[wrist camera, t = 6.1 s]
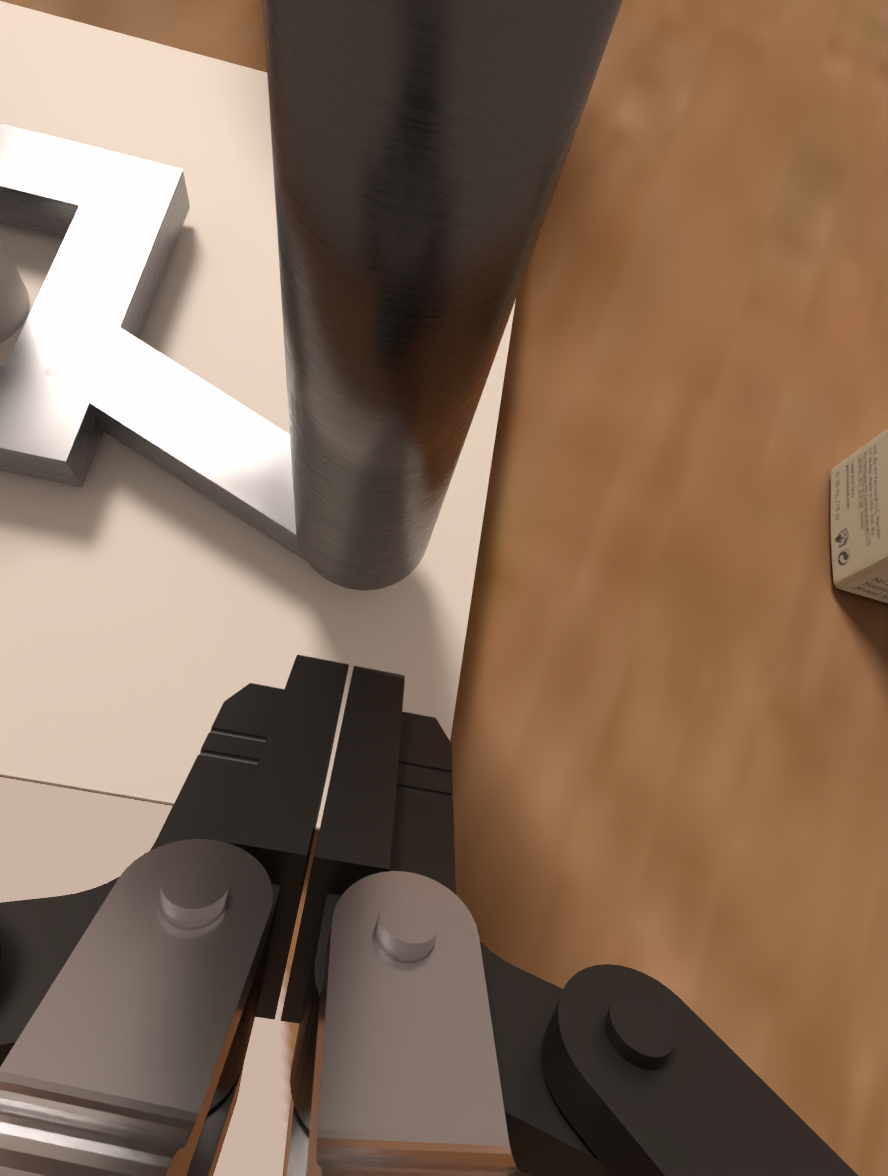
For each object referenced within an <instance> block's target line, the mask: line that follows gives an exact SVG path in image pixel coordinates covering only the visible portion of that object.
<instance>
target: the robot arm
mask: <svg viewBox="0 0 888 1176" xmlns="http://www.w3.org/2000/svg"><path fill="white" fill-rule="evenodd" d="M348 668H349V664H344V663H339V662H334V661H329V660H324V659H318V658H313V657H308V656H303V655H297V656H296V659H295V661H294V664H293V667H292V670H291V672H290V675H289V678H288V681H287V684H286V686H285V689H280V688H275V687H270V686H264V685H259V684H254V683H249V684H248V685H247V686H245V687H244V688H242V689H241V690H240V691H238V692H237V693H235V694H234V695H233V696H231V697H230V698H228V699H227V700H225V701H224V703H223V705H222V707H221V709H220V711H219V713H218V715H217V717H216V719H215V721H214V723H213V725H212V727H211V732H209V733H208V735H207V737H206V739H205V742H204V744H203V746H202V748H201V751H200V755H198V756H197V758H196V760H195V762H194V764H193V766H192V768H191V770H190V772H189V774H188V776H187V778H186V781H185V783H184V785H183V787H182V789H181V791H180V793H179V795H178V797H177V799H176V801H175V803H174V805H173V807H172V809H171V811H170V814H169V815H168V817H167V820H166V822H165V824H164V826H163V828H162V830H161V832H160V834H159V836H158V838H157V840H156V842H155V844H154V845H153V847H152V848H151V850H150V851H149V852H147V853H145V854H144V855H143V856H141V857H140V858H138V859H137V860H135V861H134V862H133V863H132V864H131V865H130V866H129V867H128V868H127V869H126V870H125V871H124V872H123V874H122V875H121V876H120V877H118V878H116V879H114V880H112V881H110V882H109V883H107V884H104V885H102V886H99V887H96V888H94V889H91V890H87V891H84V892H80V893H76V894H70V895H65V896H58V897H49V898H40V899H31V900H22V901H12V902H3V903H0V1176H213V1174H214V1171H215V1168H216V1165H217V1161H218V1158H219V1155H220V1152H221V1148H222V1145H223V1142H224V1139H225V1136H226V1133H227V1129H228V1126H229V1123H230V1120H231V1117H232V1114H233V1110H234V1107H235V1104H236V1101H237V1096H238V1092H239V1087H240V1081H241V1076H242V1070H243V1064H244V1059H245V1055H246V1051H247V1047H248V1043H249V1038H250V1035H251V1030H252V1026H253V1022H254V1018H255V1017H262V1018H269V1019H275V1015H276V1010H277V1005H278V1001H279V996H280V991H281V987H282V982H283V978H284V973H285V968H286V964H287V959H288V954H289V950H290V945H291V940H292V936H293V931H294V927H295V922H296V917H297V913H298V908H299V903H300V899H301V894H302V889H303V885H304V880H305V876H306V871H307V866H308V862H309V857H310V852H311V848H312V843H313V838H314V834H315V829H316V825H317V820H318V815H319V811H320V806H321V801H322V797H323V792H324V787H325V782H326V778H327V773H328V768H329V763H330V758H331V753H332V748H333V743H334V738H335V733H336V728H337V723H338V718H339V713H340V708H341V703H342V698H343V693H344V688H345V683H346V678H347V673H348ZM404 683H405V675H401V674H396V673H390V672H385V671H380V670H375V669H370V668H364V667H359V666H354V667H353V672H352V677H351V681H350V686H349V691H348V696H347V701H346V705H345V710H344V715H343V720H342V725H341V729H340V734H339V739H338V744H337V749H336V754H335V758H334V763H333V768H332V773H331V778H330V782H329V787H328V792H327V797H326V802H325V806H324V811H323V816H322V821H321V826H320V830H319V835H318V840H317V845H316V850H315V854H314V859H313V864H312V869H311V874H310V879H309V884H308V889H307V894H306V899H305V904H304V908H303V913H302V918H301V923H300V928H299V933H298V938H297V943H296V948H295V953H294V958H293V963H292V968H291V973H290V977H289V982H288V987H287V992H286V997H285V1002H284V1007H283V1012H282V1017H281V1021H287V1022H294V1023H300V1024H299V1029H298V1035H297V1040H296V1046H295V1051H294V1057H293V1062H292V1068H291V1078H290V1085H291V1094H292V1098H291V1104H290V1110H289V1119H288V1129H287V1139H286V1148H285V1159H284V1168H283V1176H858V1175H857V1174H856V1173H855V1172H854V1171H853V1170H852V1169H851V1168H850V1167H849V1166H848V1165H847V1164H846V1163H845V1162H844V1161H843V1160H842V1159H841V1158H840V1157H839V1156H838V1155H837V1154H836V1153H835V1152H834V1151H833V1150H832V1149H831V1148H830V1147H829V1146H828V1145H827V1144H826V1143H825V1142H824V1141H823V1140H822V1139H821V1138H820V1137H819V1136H818V1135H817V1134H816V1133H815V1132H814V1131H813V1130H812V1129H811V1128H810V1127H809V1126H808V1125H807V1124H806V1123H805V1122H804V1121H803V1120H802V1119H801V1118H800V1117H799V1116H798V1115H797V1114H796V1113H795V1112H794V1111H793V1110H792V1109H791V1108H790V1107H789V1106H788V1105H787V1104H786V1103H785V1102H784V1101H783V1100H782V1099H781V1098H780V1097H779V1096H778V1095H777V1094H776V1093H775V1092H774V1091H773V1090H772V1089H771V1088H770V1087H769V1086H768V1085H767V1084H766V1083H765V1082H764V1081H763V1080H762V1079H761V1078H760V1077H759V1076H758V1075H756V1074H755V1073H754V1072H753V1071H752V1070H751V1069H750V1068H749V1067H748V1066H747V1065H746V1064H745V1063H744V1062H743V1061H742V1060H741V1059H740V1058H739V1057H738V1056H737V1055H736V1054H735V1053H734V1052H733V1051H732V1050H731V1049H730V1048H729V1047H728V1046H727V1045H726V1044H725V1043H724V1042H723V1041H722V1040H721V1039H720V1038H719V1037H718V1036H717V1035H716V1034H715V1033H714V1032H713V1031H712V1030H711V1029H710V1028H709V1027H708V1026H707V1025H706V1024H705V1023H704V1022H703V1021H702V1020H701V1019H700V1018H699V1017H698V1016H697V1015H696V1014H695V1013H694V1012H693V1011H692V1010H691V1009H690V1008H689V1007H688V1006H687V1005H686V1004H685V1003H684V1002H683V1001H682V1000H681V999H680V998H679V997H678V996H677V995H675V994H674V993H673V992H672V991H671V990H670V989H668V988H667V987H666V986H664V985H663V984H661V983H660V982H659V981H657V980H655V979H653V978H652V977H650V976H648V975H646V974H644V973H642V972H639V971H637V970H634V969H631V968H627V967H624V966H619V965H610V964H607V965H596V966H592V967H588V968H585V969H583V970H581V971H580V972H578V973H576V974H575V975H574V976H573V977H572V978H571V979H570V980H569V981H568V983H567V984H566V985H565V987H564V989H561V988H559V987H557V986H555V985H553V984H551V983H548V982H546V981H544V980H542V979H540V978H538V977H536V976H534V975H531V974H529V973H527V972H525V971H523V970H521V969H519V968H517V967H515V966H513V965H511V964H509V963H507V962H505V961H504V960H502V959H501V958H499V957H498V956H497V955H495V954H494V953H492V952H491V951H490V950H489V949H488V948H487V947H485V946H484V945H483V944H482V943H481V942H480V939H479V934H478V930H477V926H476V923H475V921H474V919H473V916H472V914H471V913H470V911H469V910H468V908H467V907H466V905H465V904H464V903H463V902H462V901H461V900H460V898H459V897H458V896H457V895H456V890H455V856H454V821H453V799H452V794H453V786H452V776H451V773H452V751H451V742H450V741H449V739H448V737H447V736H446V734H445V732H444V731H443V729H442V727H441V726H440V724H439V722H438V721H437V719H436V718H435V717H429V716H424V715H419V714H413V713H408V712H402V709H403V696H404Z"/></svg>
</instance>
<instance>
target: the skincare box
mask: <svg viewBox="0 0 888 1176" xmlns="http://www.w3.org/2000/svg"><path fill="white" fill-rule="evenodd" d="M830 503H831V505H830V514H831V516H830V522H831V553H832V568H833V583H834V585H835V586H836V587H837V588H838V589H841V590H844V591H847V592H851V593H854V594H857V595H861V596H864V597H868V598H871V599H875V600H878V601H882V602H885V603H888V429H886V430H885V431H883V432H882V433H881V434H879V435H878V436H876V437H875V438H873V439H872V440H871V441H870V442H868V443H867V444H865V445H864V446H862V447H861V448H860V449H858V450H857V451H856V452H854V453H853V454H852V455H850V456H849V457H847V458H846V459H845V460H843V461H842V462H841V463H839V464H838V465H836V466H835V467H834V468H833V469H832V470H831V501H830Z"/></svg>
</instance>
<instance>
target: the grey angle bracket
mask: <svg viewBox="0 0 888 1176" xmlns="http://www.w3.org/2000/svg"><path fill="white" fill-rule="evenodd" d="M622 1H623V0H263V12H264V28H265V44H266V60H267V76H268V92H269V108H270V124H271V140H272V156H273V172H274V188H275V204H276V220H277V236H278V252H279V268H280V284H281V300H282V316H283V332H284V348H285V364H286V380H287V396H288V412H289V428H290V434H288V433H287V432H285V431H283V430H282V429H280V428H279V427H277V426H275V425H274V424H272V423H271V422H269V421H268V420H266V419H264V418H263V417H261V416H260V415H258V414H256V413H255V412H253V411H252V410H250V409H249V408H247V407H245V406H244V405H242V404H241V403H239V402H237V401H236V400H234V399H233V398H231V397H230V396H228V395H226V394H225V393H223V392H222V391H220V390H218V389H217V388H215V387H214V386H212V385H210V384H209V383H207V382H206V381H204V380H203V379H201V378H199V377H198V376H196V375H195V374H193V373H191V372H190V371H188V370H187V369H185V368H184V367H182V366H180V365H179V364H177V363H176V362H174V361H172V360H171V359H169V358H168V357H166V356H165V355H163V354H161V353H160V352H158V351H157V350H155V349H153V348H152V347H150V346H149V345H147V344H145V343H144V342H142V341H141V340H139V339H140V336H141V333H142V331H143V328H144V326H145V323H146V320H147V318H148V315H149V313H150V310H151V307H152V305H153V302H154V300H155V297H156V294H157V292H158V289H159V287H160V284H161V281H162V279H163V276H164V274H165V271H166V268H167V266H168V263H169V261H170V258H171V255H172V253H173V250H174V247H175V245H176V242H177V240H178V237H179V234H180V232H181V229H182V227H183V224H184V221H185V219H186V216H187V214H188V211H189V208H190V204H189V199H188V194H187V188H186V183H185V178H184V173H183V169H180V168H176V167H172V166H168V165H164V164H160V163H156V162H152V161H148V160H144V159H140V158H136V157H133V156H129V155H125V154H121V153H117V152H113V151H109V150H105V149H101V148H97V147H93V146H89V145H85V144H81V143H77V142H73V141H69V140H65V139H61V138H57V137H53V136H49V135H46V134H42V133H38V132H34V131H30V130H26V129H22V128H18V127H14V126H10V125H6V124H2V123H0V221H5V222H9V223H13V224H17V225H21V226H25V227H30V228H34V229H38V230H42V231H46V232H50V233H54V234H59V235H63V236H65V238H64V240H63V242H62V244H61V246H60V249H59V251H58V253H57V255H56V257H55V259H54V262H53V264H52V266H51V268H50V270H49V272H48V275H47V277H46V279H45V281H44V283H43V285H42V288H41V290H40V292H39V294H38V296H37V298H36V301H35V303H34V305H33V307H32V309H31V311H30V314H29V316H28V318H27V320H26V322H25V324H24V327H23V329H22V331H21V333H20V335H19V338H18V340H17V342H16V344H15V346H14V348H13V351H12V353H11V355H10V357H9V359H8V361H7V364H6V366H1V365H0V470H1V471H5V472H10V473H15V474H20V475H25V476H29V477H34V478H39V479H44V480H49V481H53V482H58V483H63V484H68V485H73V486H78V487H83V484H84V482H85V479H86V477H87V474H88V471H89V469H90V466H91V464H92V461H93V458H94V456H95V453H96V451H97V448H98V445H99V443H100V440H101V438H102V435H103V432H105V433H107V434H109V435H110V436H112V437H113V438H115V439H116V440H118V441H119V442H121V443H123V444H124V445H126V446H127V447H129V448H130V449H132V450H134V451H135V452H137V453H138V454H140V455H141V456H143V457H144V458H146V459H148V460H149V461H151V462H152V463H154V464H155V465H157V466H158V467H160V468H162V469H163V470H165V471H166V472H168V473H169V474H171V475H173V476H174V477H176V478H177V479H179V480H180V481H182V482H183V483H185V484H187V485H188V486H190V487H191V488H193V489H194V490H196V491H198V492H199V493H201V494H202V495H204V496H205V497H207V498H208V499H210V500H212V501H213V502H215V503H216V504H218V505H219V506H221V507H223V508H224V509H226V510H227V511H229V512H230V513H232V514H233V515H235V516H237V517H238V518H240V519H241V520H243V521H244V522H246V523H247V524H249V525H251V526H252V527H254V528H255V529H257V530H258V531H260V532H262V533H263V534H265V535H266V536H268V537H269V538H271V539H272V540H274V541H276V542H277V543H279V544H280V545H282V546H283V547H285V548H287V549H288V550H290V551H291V552H293V553H294V554H296V555H297V556H299V557H301V558H302V559H304V560H305V561H307V562H308V563H309V565H310V566H311V567H312V568H313V569H314V570H315V571H316V572H317V573H318V574H319V575H321V576H322V577H323V578H325V579H326V580H328V581H330V582H332V583H334V584H336V585H339V586H341V587H345V588H348V589H354V590H376V589H381V588H385V587H388V586H391V585H393V584H395V583H397V582H399V581H401V580H403V579H404V578H405V577H407V576H408V575H409V574H410V573H411V572H412V571H413V570H414V569H415V568H416V567H417V566H418V564H419V563H420V561H421V560H422V558H423V556H424V554H425V551H426V549H427V546H428V543H429V541H430V538H431V535H432V532H433V529H434V527H435V524H436V521H437V518H438V515H439V513H440V510H441V507H442V504H443V501H444V499H445V496H446V493H447V490H448V487H449V485H450V482H451V479H452V476H453V473H454V471H455V468H456V465H457V462H458V459H459V457H460V454H461V451H462V448H463V445H464V443H465V440H466V437H467V434H468V431H469V429H470V426H471V423H472V420H473V417H474V415H475V412H476V409H477V406H478V403H479V401H480V398H481V395H482V392H483V390H484V387H485V384H486V381H487V378H488V376H489V373H490V370H491V367H492V364H493V362H494V359H495V356H496V353H497V350H498V348H499V345H500V342H501V339H502V336H503V334H504V331H505V328H506V325H507V322H508V320H509V317H510V314H511V311H512V308H513V306H514V303H515V300H516V297H517V294H518V292H519V289H520V286H521V283H522V280H523V278H524V275H525V272H526V269H527V266H528V264H529V261H530V258H531V255H532V252H533V250H534V247H535V244H536V241H537V239H538V236H539V233H540V230H541V227H542V225H543V222H544V219H545V216H546V213H547V211H548V208H549V205H550V202H551V199H552V197H553V194H554V191H555V188H556V185H557V183H558V180H559V177H560V174H561V171H562V169H563V166H564V163H565V160H566V157H567V155H568V152H569V149H570V146H571V143H572V141H573V138H574V135H575V132H576V129H577V127H578V124H579V121H580V118H581V115H582V113H583V110H584V107H585V104H586V101H587V99H588V96H589V93H590V90H591V88H592V85H593V82H594V79H595V76H596V74H597V71H598V68H599V65H600V62H601V60H602V57H603V54H604V51H605V48H606V46H607V43H608V40H609V37H610V34H611V32H612V29H613V26H614V23H615V20H616V18H617V15H618V12H619V9H620V6H621V4H622Z"/></svg>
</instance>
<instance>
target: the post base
mask: <svg viewBox="0 0 888 1176" xmlns="http://www.w3.org/2000/svg"><path fill="white" fill-rule="evenodd" d="M0 123H2V124H6V125H10V126H14V127H18V128H22V129H26V130H30V131H34V132H38V133H42V134H46V135H49V136H53V137H57V138H61V139H65V140H69V141H73V142H77V143H81V144H85V145H89V146H93V147H97V148H101V149H105V150H109V151H113V152H117V153H121V154H125V155H129V156H133V157H136V158H140V159H144V160H148V161H152V162H156V163H160V164H164V165H168V166H172V167H176V168H180V169H183V173H184V178H185V183H186V188H187V194H188V199H189V204H190V208H189V211H188V214H187V216H186V219H185V221H184V224H183V227H182V229H181V232H180V234H179V237H178V240H177V242H176V245H175V247H174V250H173V253H172V255H171V258H170V261H169V263H168V266H167V268H166V271H165V274H164V276H163V279H162V281H161V284H160V287H159V289H158V292H157V294H156V297H155V300H154V302H153V305H152V307H151V310H150V313H149V315H148V318H147V320H146V323H145V326H144V328H143V331H142V333H141V336H140V339H139V340H141V341H142V342H144V343H145V344H147V345H149V346H150V347H152V348H153V349H155V350H157V351H158V352H160V353H161V354H163V355H165V356H166V357H168V358H169V359H171V360H172V361H174V362H176V363H177V364H179V365H180V366H182V367H184V368H185V369H187V370H188V371H190V372H191V373H193V374H195V375H196V376H198V377H199V378H201V379H203V380H204V381H206V382H207V383H209V384H210V385H212V386H214V387H215V388H217V389H218V390H220V391H222V392H223V393H225V394H226V395H228V396H230V397H231V398H233V399H234V400H236V401H237V402H239V403H241V404H242V405H244V406H245V407H247V408H249V409H250V410H252V411H253V412H255V413H256V414H258V415H260V416H261V417H263V418H264V419H266V420H268V421H269V422H271V423H272V424H274V425H275V426H277V427H279V428H280V429H282V430H283V431H285V432H287V433H288V434H290V428H289V412H288V396H287V380H286V364H285V348H284V332H283V316H282V300H281V284H280V268H279V252H278V236H277V220H276V204H275V188H274V172H273V156H272V140H271V124H270V108H269V92H268V76H267V73H266V72H262V71H259V70H255V69H251V68H248V67H244V66H240V65H236V64H233V63H229V62H225V61H221V60H218V59H214V58H210V57H207V56H203V55H199V54H195V53H192V52H188V51H184V50H181V49H177V48H173V47H169V46H166V45H162V44H158V43H154V42H151V41H147V40H143V39H140V38H136V37H132V36H128V35H125V34H121V33H117V32H114V31H110V30H106V29H102V28H99V27H95V26H91V25H88V24H84V23H80V22H76V21H73V20H69V19H65V18H61V17H58V16H54V15H50V14H47V13H43V12H39V11H35V10H32V9H28V8H24V7H21V6H17V5H13V4H9V3H6V2H2V1H0ZM64 238H65V236H63V235H59V234H54V233H50V232H46V231H42V230H38V229H34V228H30V227H25V226H21V225H17V224H13V223H9V222H5V221H0V365H1V366H6V364H7V361H8V359H9V357H10V355H11V353H12V351H13V348H14V346H15V344H16V342H17V340H18V338H19V335H20V333H21V331H22V329H23V327H24V324H25V322H26V320H27V318H28V316H29V314H30V311H31V309H32V307H33V305H34V303H35V301H36V298H37V296H38V294H39V292H40V290H41V288H42V285H43V283H44V281H45V279H46V277H47V275H48V272H49V270H50V268H51V266H52V264H53V262H54V259H55V257H56V255H57V253H58V251H59V249H60V246H61V244H62V242H63V240H64ZM515 302H516V300H515ZM514 308H515V303H514V306H513V308H512V311H511V314H510V317H509V320H508V322H507V325H506V328H505V331H504V334H503V336H502V339H501V342H500V345H499V348H498V350H497V353H496V356H495V359H494V362H493V364H492V367H491V370H490V373H489V376H488V378H487V381H486V384H485V387H484V390H483V392H482V395H481V398H480V401H479V403H478V406H477V409H476V412H475V415H474V417H473V420H472V423H471V426H470V429H469V431H468V434H467V437H466V440H465V443H464V445H463V448H462V451H461V454H460V457H459V459H458V462H457V465H456V468H455V471H454V473H453V476H452V479H451V482H450V485H449V487H448V490H447V493H446V496H445V499H444V501H443V504H442V507H441V510H440V513H439V515H438V518H437V521H436V524H435V527H434V529H433V532H432V535H431V538H430V541H429V543H428V546H427V549H426V551H425V554H424V556H423V558H422V560H421V561H420V563H419V564H418V566H417V567H416V568H415V569H414V570H413V571H412V572H411V573H410V574H409V575H408V576H407V577H405V578H404V579H403V580H401V581H399V582H397V583H395V584H393V585H391V586H388V587H385V588H381V589H376V590H354V589H348V588H345V587H341V586H339V585H336V584H334V583H332V582H330V581H328V580H326V579H325V578H323V577H322V576H321V575H319V574H318V573H317V572H316V571H315V570H314V569H313V568H312V567H311V566H310V565H309V563H308V562H307V561H305V560H304V559H302V558H301V557H299V556H297V555H296V554H294V553H293V552H291V551H290V550H288V549H287V548H285V547H283V546H282V545H280V544H279V543H277V542H276V541H274V540H272V539H271V538H269V537H268V536H266V535H265V534H263V533H262V532H260V531H258V530H257V529H255V528H254V527H252V526H251V525H249V524H247V523H246V522H244V521H243V520H241V519H240V518H238V517H237V516H235V515H233V514H232V513H230V512H229V511H227V510H226V509H224V508H223V507H221V506H219V505H218V504H216V503H215V502H213V501H212V500H210V499H208V498H207V497H205V496H204V495H202V494H201V493H199V492H198V491H196V490H194V489H193V488H191V487H190V486H188V485H187V484H185V483H183V482H182V481H180V480H179V479H177V478H176V477H174V476H173V475H171V474H169V473H168V472H166V471H165V470H163V469H162V468H160V467H158V466H157V465H155V464H154V463H152V462H151V461H149V460H148V459H146V458H144V457H143V456H141V455H140V454H138V453H137V452H135V451H134V450H132V449H130V448H129V447H127V446H126V445H124V444H123V443H121V442H119V441H118V440H116V439H115V438H113V437H112V436H110V435H109V434H107V433H105V432H103V435H102V438H101V440H100V443H99V445H98V448H97V451H96V453H95V456H94V458H93V461H92V464H91V466H90V469H89V471H88V474H87V477H86V479H85V482H84V484H83V487H78V486H73V485H68V484H63V483H58V482H53V481H49V480H44V479H39V478H34V477H29V476H25V475H20V474H15V473H10V472H5V471H1V470H0V777H5V778H11V779H17V780H23V781H29V782H35V783H41V784H47V785H53V786H58V787H64V788H70V789H76V790H82V791H88V792H94V793H100V794H106V795H112V796H118V797H124V798H130V799H136V800H142V801H148V802H153V803H159V804H165V805H172V806H173V805H174V803H175V801H176V799H177V797H178V795H179V793H180V791H181V789H182V787H183V785H184V783H185V781H186V778H187V776H188V774H189V772H190V770H191V768H192V766H193V764H194V762H195V760H196V758H197V756H198V755H200V751H201V748H202V746H203V744H204V742H205V739H206V737H207V735H208V733H209V732H211V727H212V725H213V723H214V721H215V719H216V717H217V715H218V713H219V711H220V709H221V707H222V705H223V703H224V701H225V700H227V699H228V698H230V697H231V696H233V695H234V694H235V693H237V692H238V691H240V690H241V689H242V688H244V687H245V686H247V685H248V684H249V683H254V684H259V685H264V686H270V687H275V688H280V689H285V686H286V684H287V681H288V678H289V675H290V672H291V670H292V667H293V664H294V661H295V659H296V656H297V655H303V656H308V657H313V658H318V659H324V660H329V661H334V662H339V663H344V664H349V668H348V673H347V678H346V683H345V688H344V693H343V698H342V703H341V708H340V713H339V718H338V723H337V728H336V733H335V738H334V743H333V748H332V753H331V758H330V763H329V768H328V773H327V778H326V782H325V787H324V792H323V797H322V801H321V806H320V811H319V815H318V820H317V825H316V829H315V830H320V826H321V821H322V816H323V811H324V806H325V802H326V797H327V792H328V787H329V782H330V778H331V773H332V768H333V763H334V758H335V754H336V749H337V744H338V739H339V734H340V729H341V725H342V720H343V715H344V710H345V705H346V701H347V696H348V691H349V686H350V681H351V677H352V672H353V667H354V666H359V667H364V668H370V669H375V670H380V671H385V672H390V673H396V674H401V675H405V683H404V696H403V709H402V712H408V713H413V714H419V715H424V716H429V717H435V718H436V719H437V721H438V722H439V724H440V726H441V727H442V729H443V731H444V732H445V734H446V736H447V737H448V739H449V741H450V738H451V731H452V725H453V718H454V711H455V705H456V698H457V691H458V684H459V678H460V671H461V664H462V658H463V651H464V644H465V637H466V631H467V624H468V617H469V611H470V604H471V597H472V590H473V584H474V577H475V570H476V564H477V557H478V550H479V543H480V537H481V530H482V523H483V517H484V510H485V503H486V496H487V490H488V483H489V476H490V469H491V463H492V456H493V449H494V443H495V436H496V429H497V422H498V416H499V409H500V402H501V396H502V389H503V382H504V375H505V369H506V362H507V355H508V349H509V342H510V335H511V328H512V322H513V315H514Z"/></svg>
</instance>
